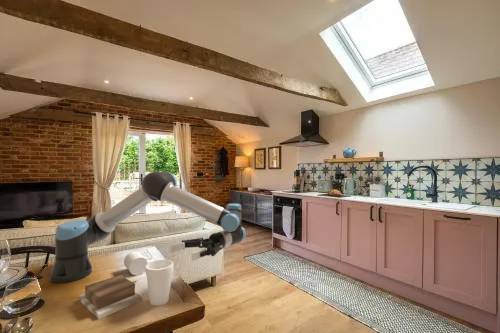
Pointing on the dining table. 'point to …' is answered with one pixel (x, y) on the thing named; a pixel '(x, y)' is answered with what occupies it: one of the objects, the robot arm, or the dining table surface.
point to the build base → (111, 307)
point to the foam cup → (159, 281)
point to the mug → (136, 263)
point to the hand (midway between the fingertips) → (181, 252)
